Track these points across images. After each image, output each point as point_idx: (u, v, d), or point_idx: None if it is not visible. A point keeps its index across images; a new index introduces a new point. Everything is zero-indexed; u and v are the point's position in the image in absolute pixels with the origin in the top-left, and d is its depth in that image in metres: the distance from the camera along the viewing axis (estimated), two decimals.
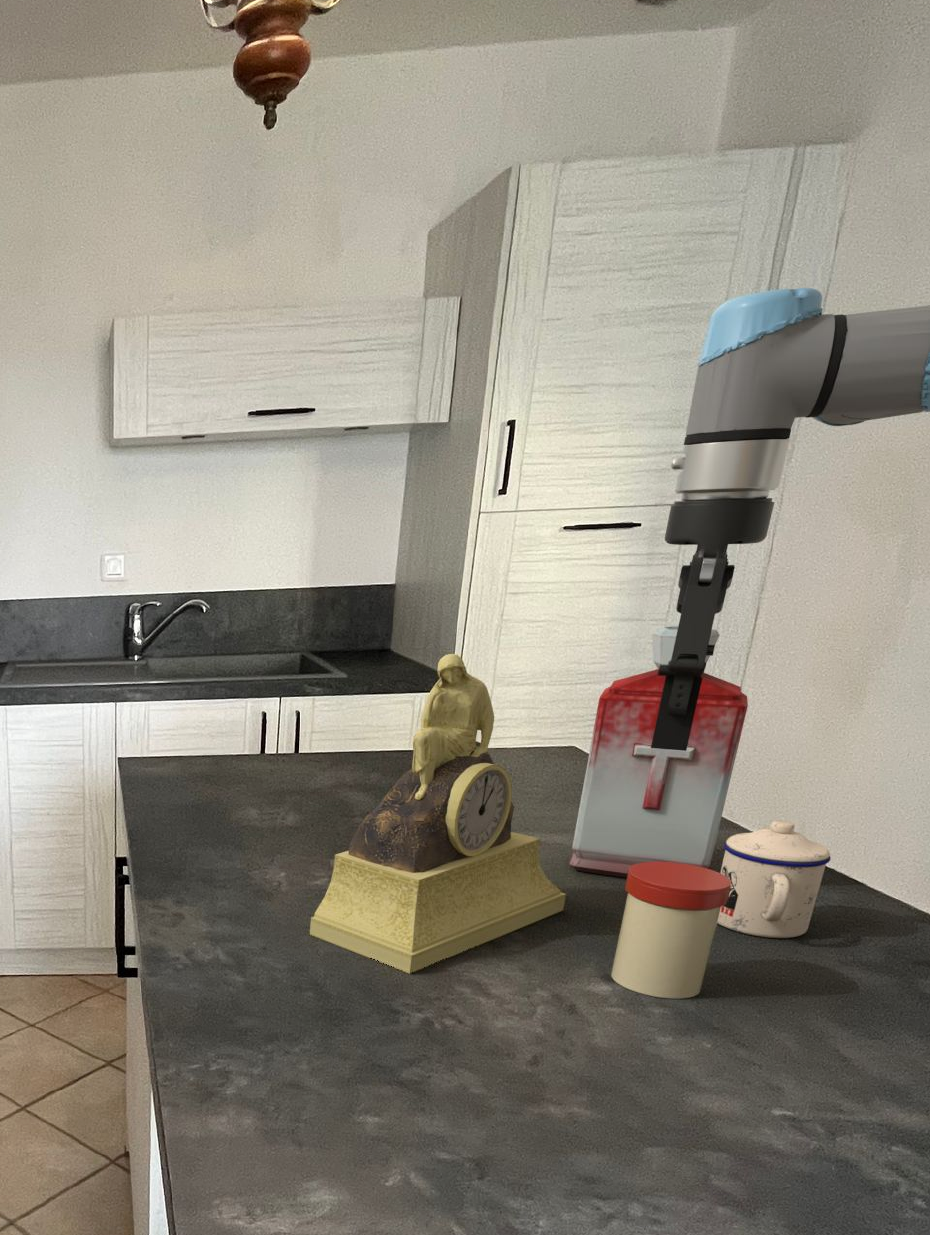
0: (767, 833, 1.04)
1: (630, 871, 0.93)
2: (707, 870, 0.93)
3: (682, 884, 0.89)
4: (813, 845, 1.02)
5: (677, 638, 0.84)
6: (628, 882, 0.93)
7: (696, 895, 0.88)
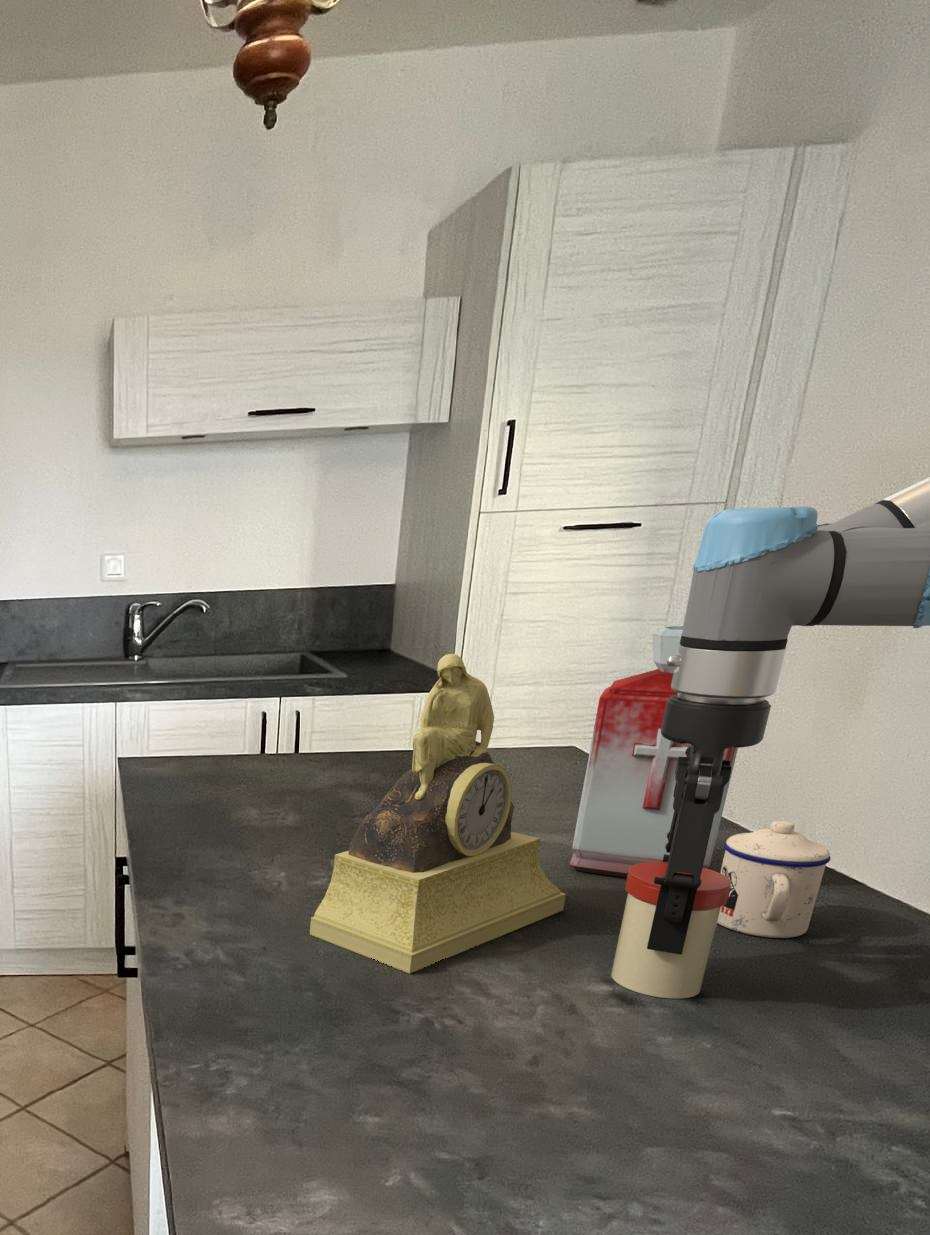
0: (767, 833, 1.04)
1: (630, 871, 0.93)
2: (707, 870, 0.93)
3: None
4: (813, 845, 1.02)
5: (672, 855, 0.85)
6: (628, 882, 0.93)
7: (696, 895, 0.88)
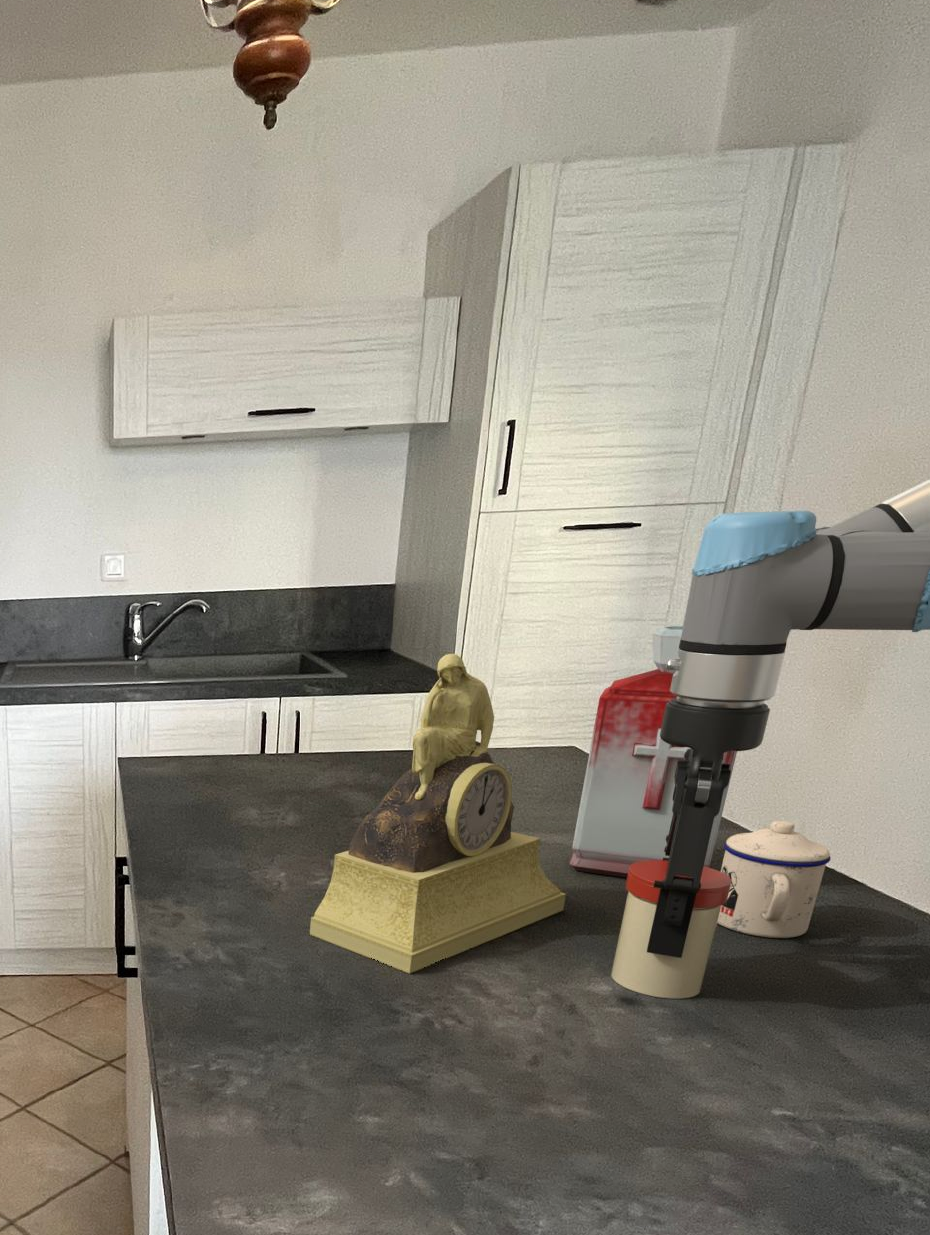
0: (767, 833, 1.04)
1: (704, 888, 0.88)
2: (638, 864, 0.94)
3: (712, 874, 0.91)
4: (813, 845, 1.02)
5: (672, 859, 0.85)
6: (706, 898, 0.88)
7: None
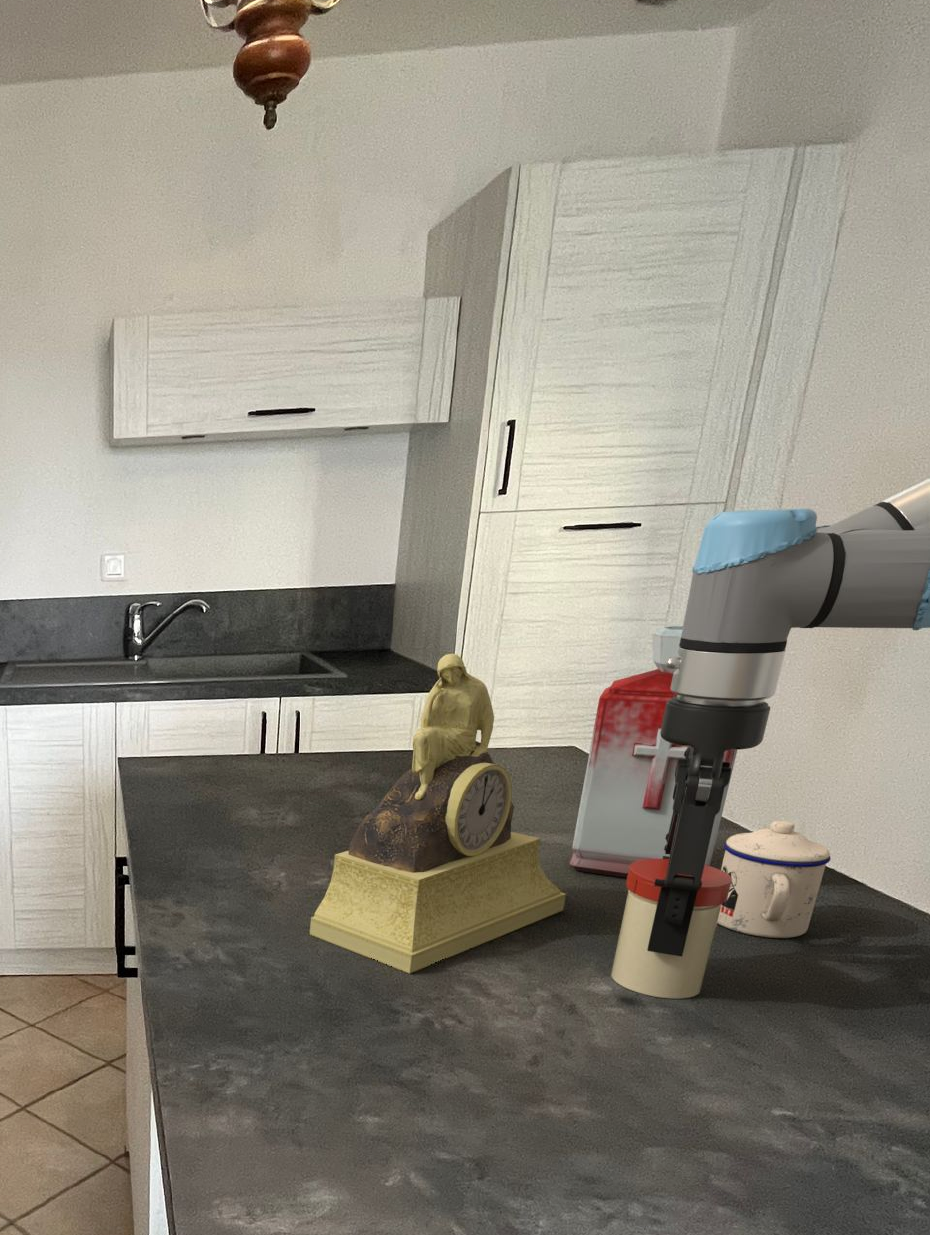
0: (767, 833, 1.04)
1: (713, 867, 0.92)
2: None
3: (656, 862, 0.94)
4: (813, 845, 1.02)
5: (673, 857, 0.85)
6: None
7: None
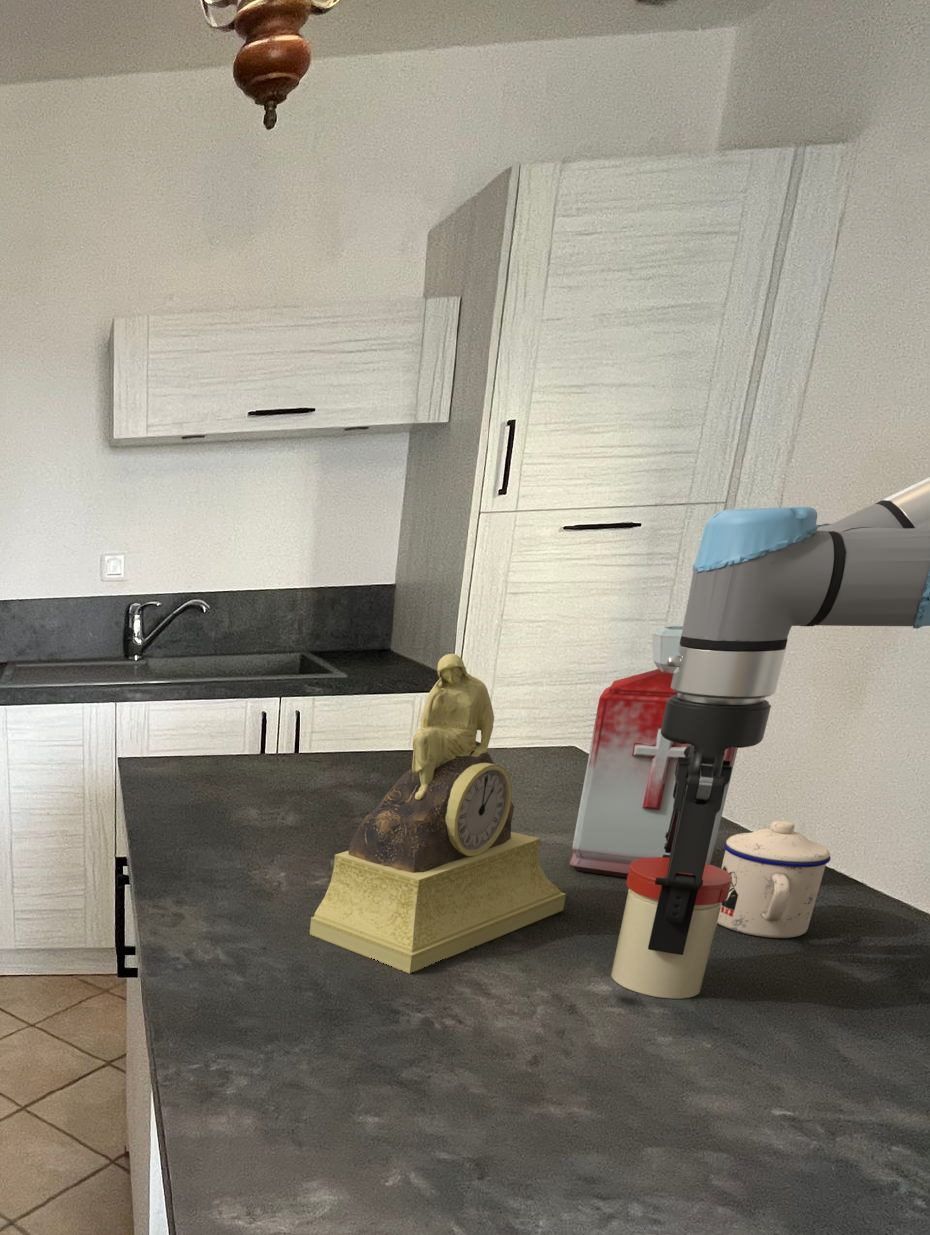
0: (767, 833, 1.04)
1: (635, 860, 0.95)
2: (723, 873, 0.90)
3: (661, 876, 0.90)
4: (813, 845, 1.02)
5: (674, 856, 0.85)
6: None
7: None
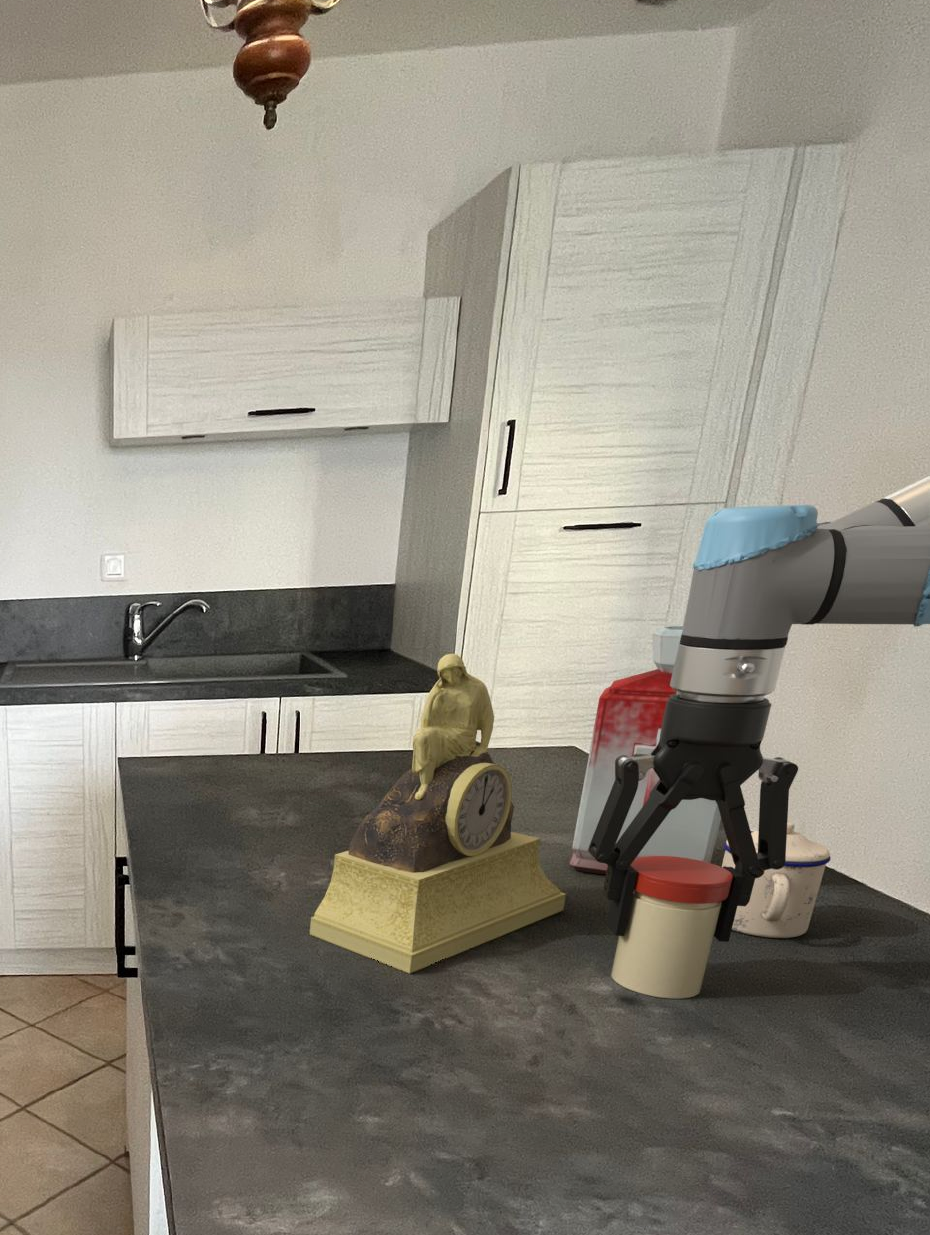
0: None
1: (674, 881, 0.89)
2: (656, 857, 0.95)
3: (716, 875, 0.90)
4: (813, 845, 1.02)
5: (785, 840, 0.87)
6: (677, 892, 0.89)
7: None
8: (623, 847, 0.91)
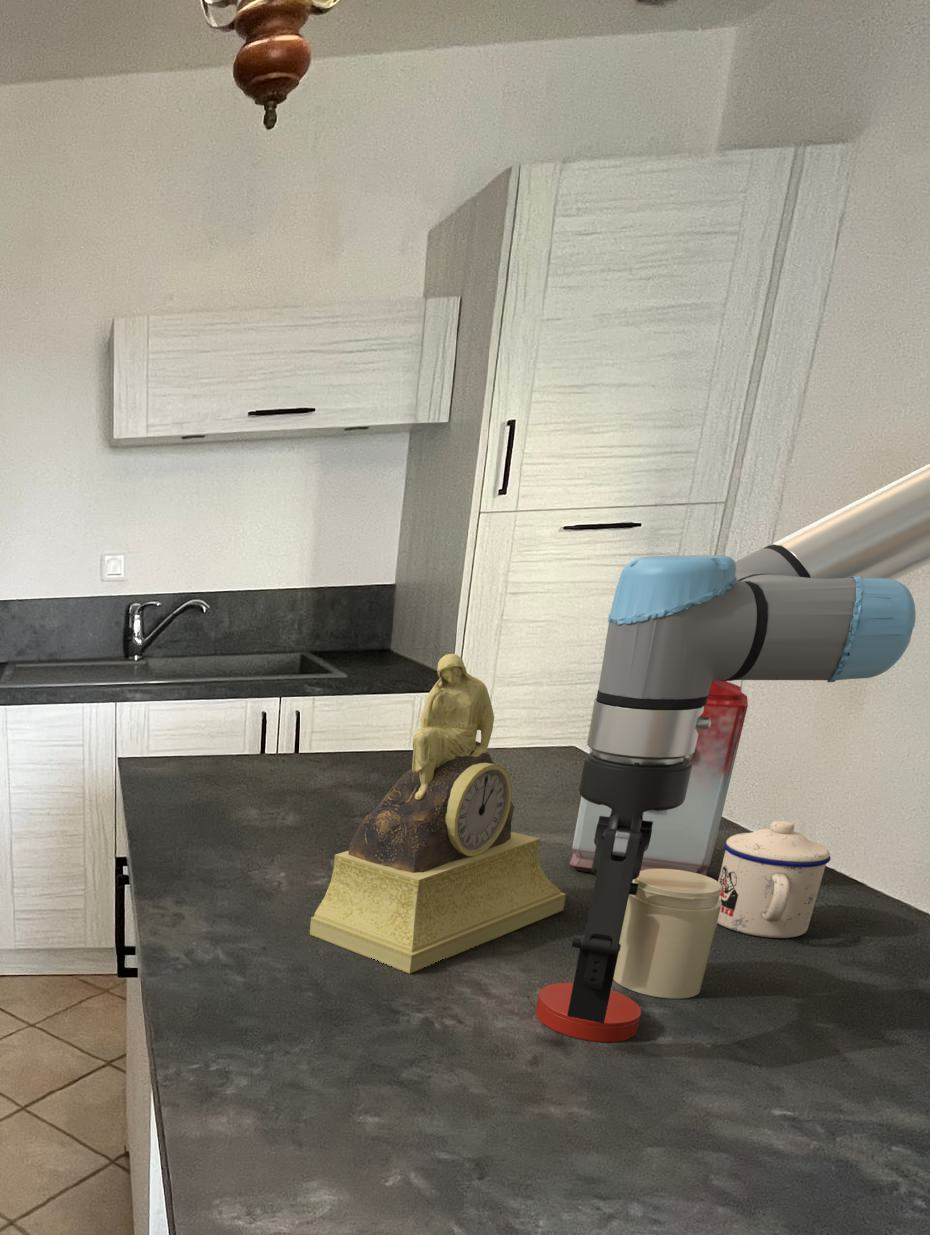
0: (767, 833, 1.04)
1: (634, 1018, 0.85)
2: (545, 997, 0.89)
3: None
4: (813, 845, 1.02)
5: None
6: (635, 1027, 0.86)
7: None
8: None
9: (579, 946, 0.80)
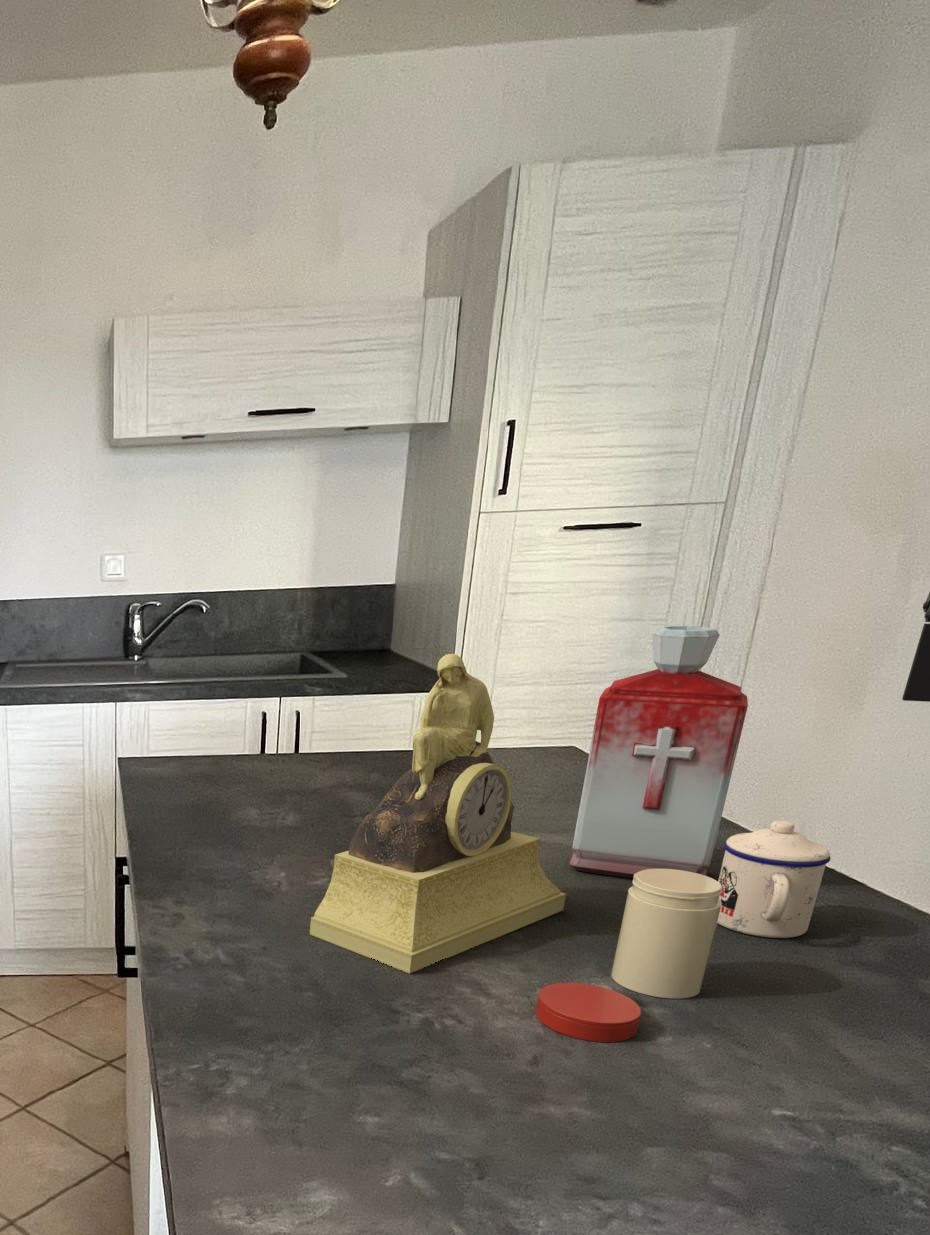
0: (767, 833, 1.04)
1: (634, 1018, 0.85)
2: (545, 997, 0.89)
3: (608, 994, 0.89)
4: (813, 845, 1.02)
5: None
6: (635, 1027, 0.86)
7: None
8: None
9: None
